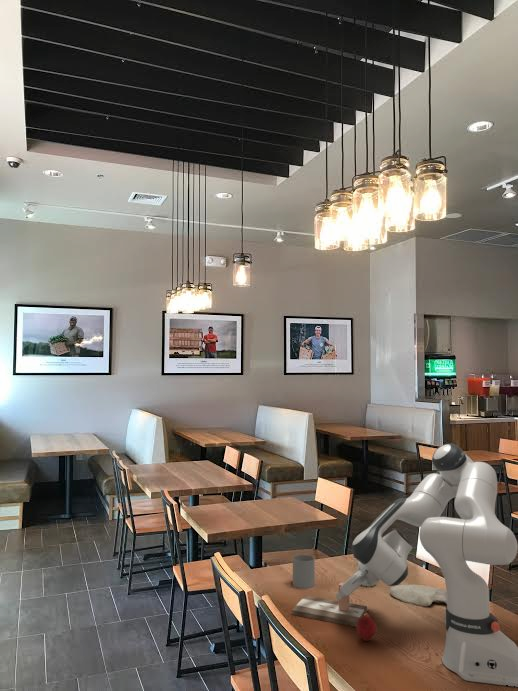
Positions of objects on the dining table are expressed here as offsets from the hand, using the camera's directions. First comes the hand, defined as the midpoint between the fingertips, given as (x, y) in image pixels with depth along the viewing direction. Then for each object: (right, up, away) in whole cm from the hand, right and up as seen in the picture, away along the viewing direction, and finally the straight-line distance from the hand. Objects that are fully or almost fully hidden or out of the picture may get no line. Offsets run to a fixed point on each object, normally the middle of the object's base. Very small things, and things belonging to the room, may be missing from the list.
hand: (342, 593), depth 184 cm
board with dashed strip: (-4, -7, +1) cm, 8 cm away
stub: (0, -5, -1) cm, 5 cm away
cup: (-11, -9, +27) cm, 30 cm away
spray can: (+14, -9, +28) cm, 32 cm away
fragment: (+30, -9, +13) cm, 34 cm away
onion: (+4, -6, -20) cm, 21 cm away
